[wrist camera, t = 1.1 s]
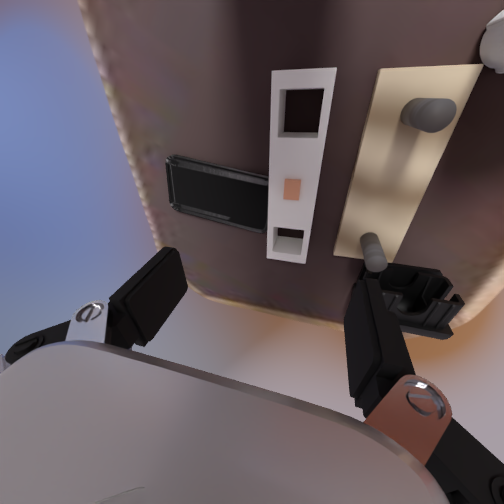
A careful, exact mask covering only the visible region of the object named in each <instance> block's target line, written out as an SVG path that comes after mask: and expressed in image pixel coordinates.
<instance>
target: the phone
mask: <svg viewBox="0 0 504 504" xmlns="http://www.w3.org/2000/svg"><path fill="white" fill-rule="evenodd" d="M166 173H167V182H168V192H169V201H170V205H171V207H172V208H173V209H175V210H176V211H180V212H183V213H187V214H191V215H194V216H198V217H202V218H206V219H209V220H213V221H217V222H220V223H224V224H228V225H231V226H235V227H239V228H243V229H246V230H250V231H254V232H257V233H265V232H266V231H267V230H268V192H269V177H268V176H264V175H260V174H256V173H251V172H247V171H243V170H239V169H234V168H230V167H226V166H222V165H217V164H213V163H209V162H205V161H201V160H196V159H192V158H188V157H184V156H179V155H171V156H169V157H167V159H166Z"/></svg>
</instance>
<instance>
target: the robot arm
mask: <svg viewBox="0 0 504 504" xmlns="http://www.w3.org/2000/svg"><path fill="white" fill-rule="evenodd" d="M187 288H188V285H187V281H186V277H185V273H184V270H183V266H182V262H181V258H180V254H179V252H178V251H177V250H176V248H171V247H163V248H162V249H161V250H160V251H159V252H158V253H157V254H156V255H155V256H154V257H152V258H151V259H150V260H149V261H148V262H147V263H146V264H145V265H144V266H143V267H142V268H141V269H140V270H138V271H137V273H135V274H134V275H133V276H132V277H131V278H130V279H129V280H128V281H127V282H126V283H124V285H122V286H121V287H120V288H119V289H118V290H117V291H116V292H115V293H114V294H113V295H112V296H111V297H110V298H109V300H110V302H109V303H108V304H107V303H106V302H105V301H102V300H97V301H92V302H89V303H87V304H85V305H83V306H81V307H80V308H79V309H78V310H77V311H76V312H75V313H74V314H73V316H72V318H71V320H69V321H67V322H64V323H61V324H58V325H56V326H52V327H50V328H47V329H44V330H41V331H38V332H35V333H32V334H30V335H28V336H25V337H24V338H22V339H20V340H19V341H18V342H16V343H15V344H14V345H13V346H12V347H11V348H10V349H9V350H8V352H7V353H6V355H5V356H3V355H2V354H1V355H0V504H504V464H503V463H502V462H501V461H500V460H498V458H496V457H495V456H494V455H493V454H492V453H491V452H490V451H489V450H488V449H486V448H485V447H484V446H483V445H482V444H481V443H480V442H479V441H478V440H477V439H475V438H474V437H473V436H472V435H471V434H470V433H469V432H468V431H466V430H465V429H464V428H463V427H462V426H461V425H460V424H459V423H458V422H456V420H454V419H453V418H452V410H451V406H450V404H449V402H448V400H447V398H446V397H445V396H444V394H443V393H442V392H441V390H439V389H438V388H437V387H436V386H435V385H434V384H433V383H431V382H430V381H428V380H427V379H425V378H422V377H420V376H417V375H416V374H415V371H414V368H413V365H412V362H411V359H410V356H409V353H408V350H407V347H406V343H405V340H404V337H403V334H402V331H401V328H400V325H399V322H398V319H397V316H396V314H395V313H394V312H391V311H387V308H386V304H385V301H384V297H383V294H382V291H381V287H380V284H379V281H378V280H377V279H371V278H363V279H362V280H358V282H357V284H356V287H355V290H354V292H353V295H352V298H351V301H350V303H349V306H348V309H347V312H346V314H345V317H344V332H345V344H346V356H347V368H348V380H349V391H350V396H351V397H353V398H355V406H356V407H359V408H362V409H363V415H364V417H365V418H366V420H365V421H364V422H361V421H359V420H357V419H354V418H352V417H350V416H347V415H344V414H342V413H339V412H336V411H333V410H331V409H328V408H324V407H321V406H318V405H315V404H312V403H309V402H306V401H302V400H299V399H296V398H293V397H290V396H286V395H283V394H280V393H276V392H273V391H269V390H266V389H263V388H259V387H256V386H253V385H249V384H246V383H242V382H239V381H236V380H232V379H229V378H225V377H221V376H219V375H215V374H212V373H208V372H205V371H202V370H198V369H195V368H191V367H188V366H184V365H181V364H177V363H174V362H170V361H167V360H163V359H160V358H156V357H153V356H149V355H146V354H142V353H139V352H135V351H132V346H133V344H134V343H135V344H136V345H139V346H143V347H145V346H146V344H147V343H148V341H151V340H152V339H153V338H154V336H155V335H156V334H157V332H158V331H159V329H160V328H161V326H162V325H163V324H164V322H165V321H166V320H167V318H168V317H169V315H170V314H171V313H172V311H173V310H174V308H175V307H176V306H177V304H178V303H179V301H180V300H181V298H182V297H183V296H184V294H185V293H186V291H187Z"/></svg>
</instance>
